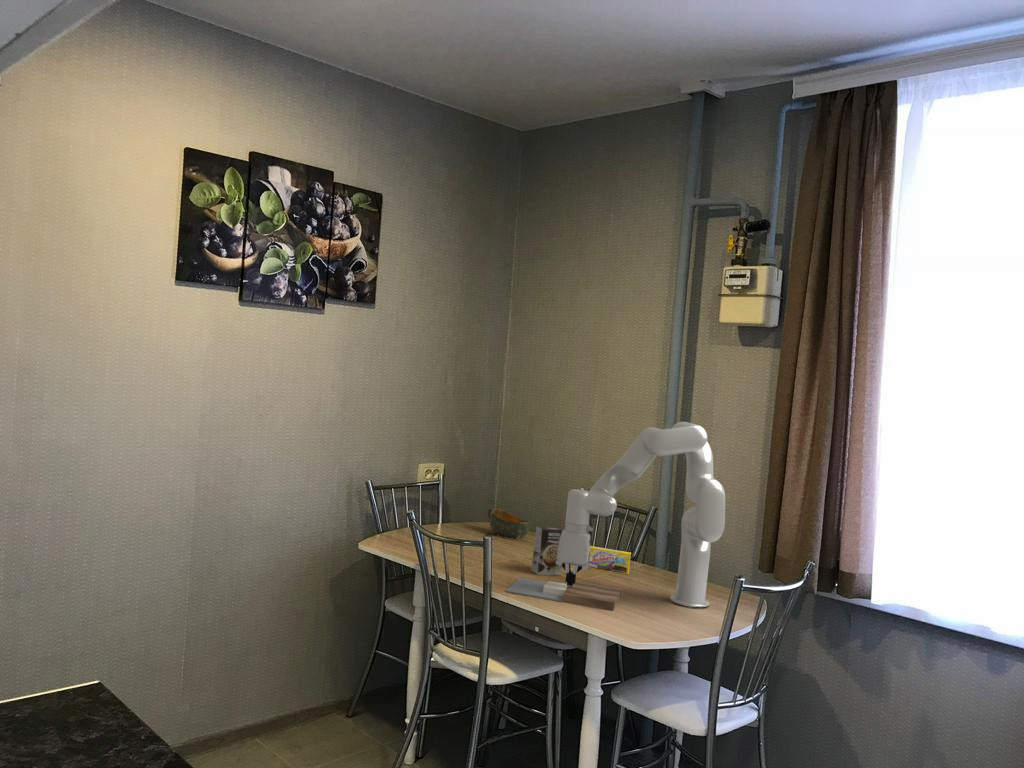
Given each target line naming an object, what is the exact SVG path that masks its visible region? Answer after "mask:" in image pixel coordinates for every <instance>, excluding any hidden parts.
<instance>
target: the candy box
mask: <svg viewBox="0 0 1024 768" xmlns="http://www.w3.org/2000/svg"><path fill="white" fill-rule="evenodd" d="M631 555H632V552H629V551H624V550H623V551H622V550H616V549H611V548H604V547H599V546H594V545H593V546H592V545H590V559H589V562H588V563H589V568H591V569H590V570H594V569H598V570H597V571H600V570H604V571H603V572H606V571H612V572H617V573H616V574H618V573H624V574H630V564H631ZM612 572H611V573H612ZM624 574H623V575H624Z"/></svg>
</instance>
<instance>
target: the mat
mask: <svg viewBox="0 0 1024 768" xmlns="http://www.w3.org/2000/svg"><path fill="white" fill-rule="evenodd" d="M547 582H548V581H542V580H537V579H531V578H524V577H519V578H518V579H517V580H516V581H515V582H513V584H512V585H510V587H508V588H507V590H505V592H506V593H508V594H513V595H521V596H526V597H531V598H537V599H543V600H548V601H554V602H559V603H563V602H562V599H563V596H559V595H553V594H548V593H543V588H544V585H545V584H546V583H547Z"/></svg>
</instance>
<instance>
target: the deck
mask: <svg viewBox="0 0 1024 768" xmlns="http://www.w3.org/2000/svg"><path fill="white" fill-rule="evenodd" d="M621 591H622V589H621V588H618V587H611V586H604V585H600V584H594V583H588V582H587V583H586V582H583V581H582V582H581V581H577V580H576V581H575V584H574V583H573V585H572V586H569V587H568V588H567V589H566V591H565V592H564V593H563V599H562V602H561V603H568V604H573V605H578V606H585V607H591V608H595V609H596V608H597V609H601V610H606V611H607V610H608V611H614V610H615V609H616V606H617V604H618V602H619V601H620V599H621V596H622V592H621Z"/></svg>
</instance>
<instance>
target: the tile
mask: <svg viewBox="0 0 1024 768" xmlns="http://www.w3.org/2000/svg"><path fill="white" fill-rule="evenodd" d="M546 582H547V583H546V584H545V585H544V588H543V593H548V594H553V595H559V596H563V593H564V592H565V591H566V589H567V588H568V587H569V586H570V585H569V586H567V583H563V582H557V581H552V580H548V581H546Z"/></svg>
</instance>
